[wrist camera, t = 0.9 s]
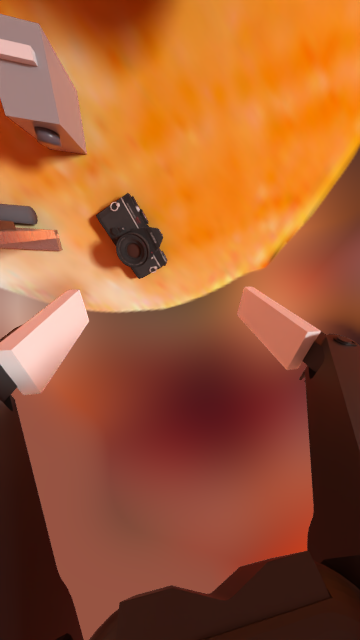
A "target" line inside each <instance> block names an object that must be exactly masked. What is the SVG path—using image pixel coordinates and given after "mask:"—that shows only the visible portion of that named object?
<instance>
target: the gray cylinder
mask: <svg viewBox="0 0 360 640" xmlns="http://www.w3.org/2000/svg"><path fill="white" fill-rule="evenodd" d="M0 220H1V221H13V222H14V223H23V224H37V215H36V213H35V211H34V210H33V209H32V208H31V207H29V206H18V205H7V204H0Z"/></svg>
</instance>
